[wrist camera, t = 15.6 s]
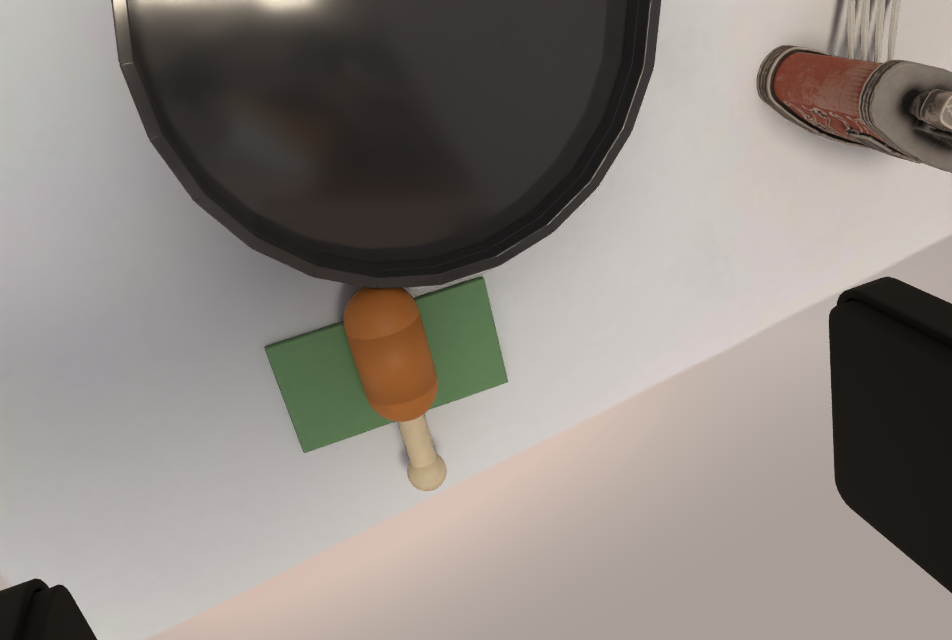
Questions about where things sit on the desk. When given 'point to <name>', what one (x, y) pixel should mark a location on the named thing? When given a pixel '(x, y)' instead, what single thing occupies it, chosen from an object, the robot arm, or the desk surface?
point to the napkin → (337, 380)
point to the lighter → (864, 102)
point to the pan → (388, 122)
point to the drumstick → (397, 372)
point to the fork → (877, 33)
